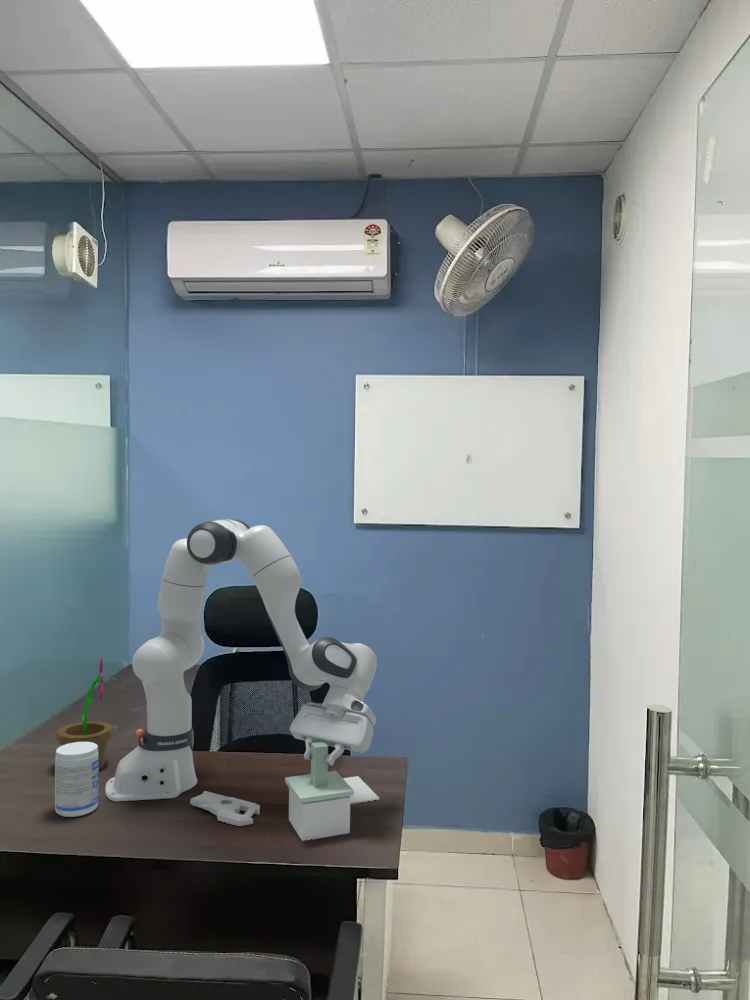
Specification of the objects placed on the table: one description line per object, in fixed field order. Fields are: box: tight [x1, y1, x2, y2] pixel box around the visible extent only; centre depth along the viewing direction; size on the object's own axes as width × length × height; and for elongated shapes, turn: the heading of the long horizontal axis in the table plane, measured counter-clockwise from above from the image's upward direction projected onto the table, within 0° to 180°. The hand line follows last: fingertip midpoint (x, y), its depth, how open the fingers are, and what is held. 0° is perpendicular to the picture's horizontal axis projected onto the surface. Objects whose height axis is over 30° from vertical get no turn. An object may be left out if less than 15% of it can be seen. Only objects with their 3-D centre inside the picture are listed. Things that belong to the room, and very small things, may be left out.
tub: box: [288, 787, 351, 842], centre depth 167 cm, size 11×11×8 cm
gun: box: [190, 790, 261, 827], centre depth 173 cm, size 18×3×10 cm
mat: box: [342, 775, 380, 805], centre depth 186 cm, size 15×15×1 cm
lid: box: [284, 742, 354, 803], centre depth 167 cm, size 12×12×11 cm
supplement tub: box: [54, 742, 99, 818], centre depth 173 cm, size 10×10×15 cm
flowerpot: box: [55, 656, 114, 771], centre depth 200 cm, size 14×14×30 cm
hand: (317, 761), depth 166 cm, fingers closed on lid, 4 cm apart
